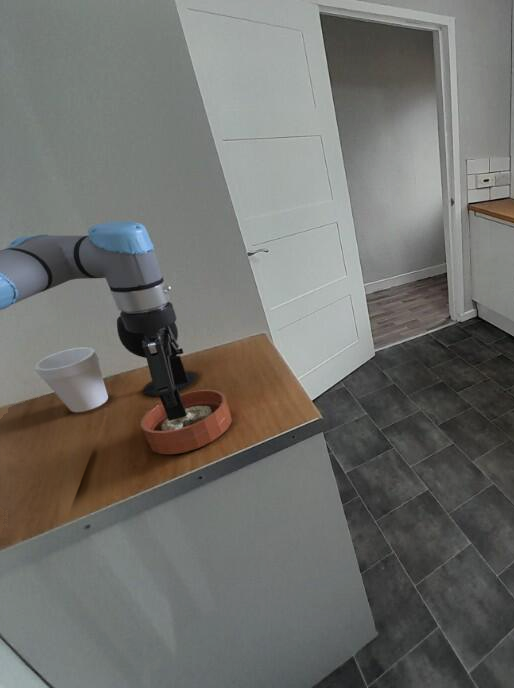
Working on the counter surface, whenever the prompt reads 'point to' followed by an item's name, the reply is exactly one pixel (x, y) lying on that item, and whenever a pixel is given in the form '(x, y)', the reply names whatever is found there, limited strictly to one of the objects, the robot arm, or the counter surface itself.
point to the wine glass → (135, 346)
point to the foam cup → (74, 378)
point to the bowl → (192, 434)
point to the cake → (187, 418)
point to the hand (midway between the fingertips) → (179, 399)
